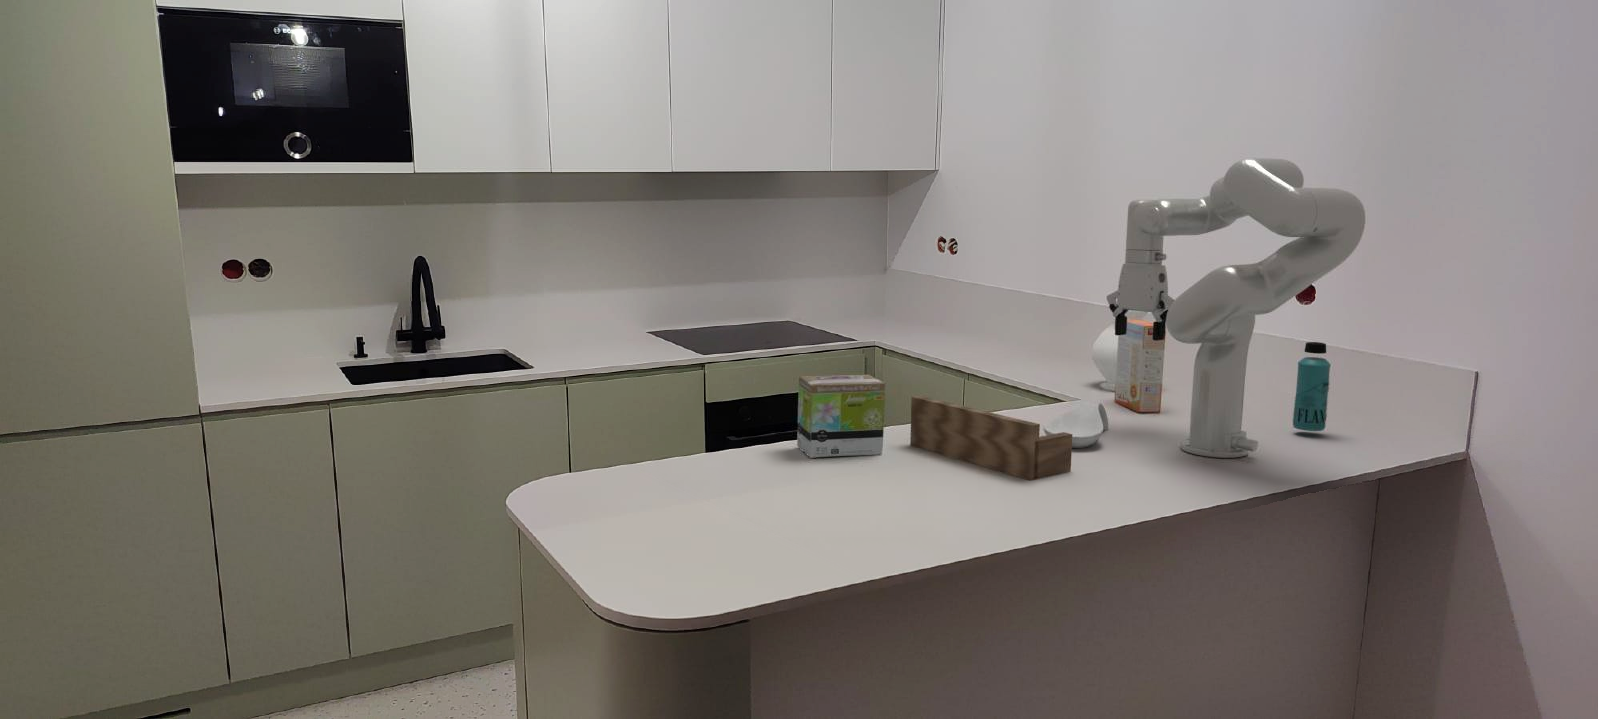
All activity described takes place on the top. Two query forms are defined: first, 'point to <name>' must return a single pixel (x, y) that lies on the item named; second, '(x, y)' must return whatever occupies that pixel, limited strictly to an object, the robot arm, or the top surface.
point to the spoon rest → (1080, 424)
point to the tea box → (840, 415)
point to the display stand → (988, 439)
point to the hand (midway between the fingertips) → (1139, 337)
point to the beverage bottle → (1312, 390)
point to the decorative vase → (1110, 351)
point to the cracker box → (1139, 368)
